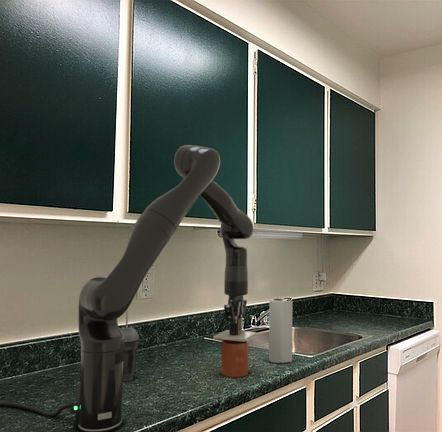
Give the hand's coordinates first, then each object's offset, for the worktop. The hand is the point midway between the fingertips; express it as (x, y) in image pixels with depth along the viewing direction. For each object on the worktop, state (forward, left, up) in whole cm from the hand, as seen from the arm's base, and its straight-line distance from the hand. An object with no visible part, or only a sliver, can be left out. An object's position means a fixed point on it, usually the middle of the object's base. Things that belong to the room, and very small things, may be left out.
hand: (235, 333), depth 143 cm
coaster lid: (0, 0, -1) cm, 1 cm away
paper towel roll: (+9, +18, -13) cm, 24 cm away
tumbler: (0, 0, -12) cm, 12 cm away
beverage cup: (-28, -18, -13) cm, 36 cm away
